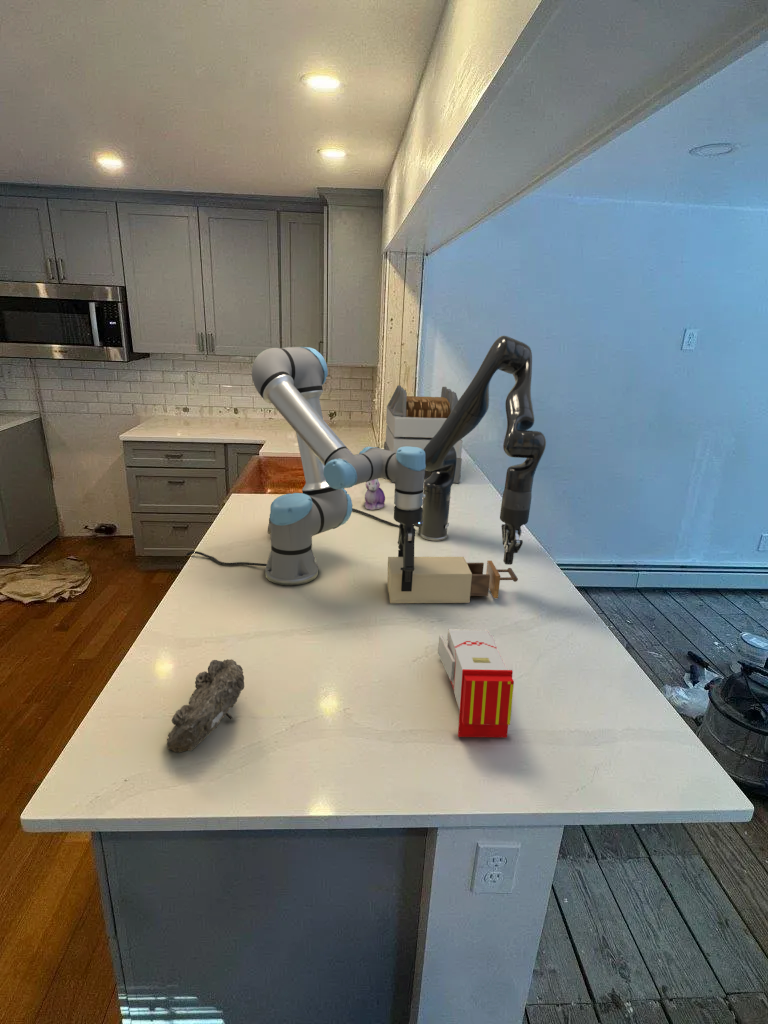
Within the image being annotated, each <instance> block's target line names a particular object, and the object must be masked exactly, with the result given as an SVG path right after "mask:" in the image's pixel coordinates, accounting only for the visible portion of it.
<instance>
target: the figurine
mask: <svg viewBox="0 0 768 1024" xmlns="http://www.w3.org/2000/svg"><path fill="white" fill-rule="evenodd" d="M380 486H381V483H380V481H379V478H378V479H375V480H371V481H368V482H365V488H366V492H365V494H364V505H363V507H365V509H366V510H372V511H373V510H380V509H382V508H384V507H385V502H386V495H385V493H384V490H383V489H382V488H381V487H380Z"/></svg>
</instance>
